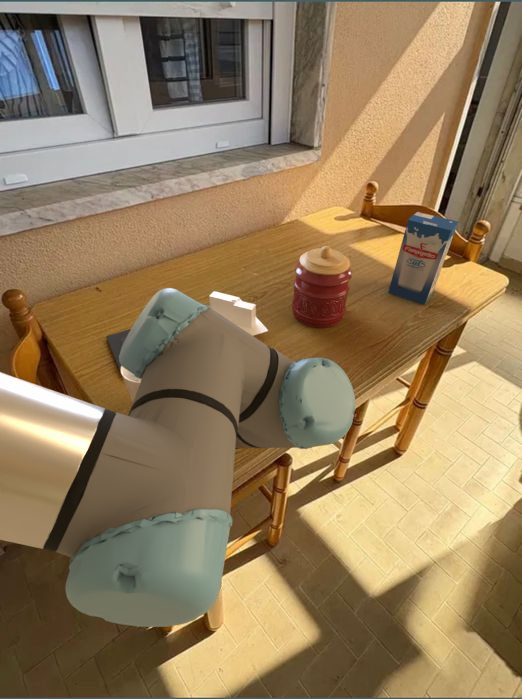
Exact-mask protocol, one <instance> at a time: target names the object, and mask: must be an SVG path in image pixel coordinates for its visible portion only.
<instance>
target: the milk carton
mask: <svg viewBox="0 0 522 699" xmlns="http://www.w3.org/2000/svg"><path fill="white" fill-rule="evenodd" d="M458 225H459V221H458V220H453V219H449V218H445V217H441V216H437V215H433V214H428V213H425V212H420V211H416V212H415V213H414V214H412V215H411V216H410V217H409V218H408V219H407V222H406V226H405V230H404V234H403V237H402V241H401V244H400V248H399V252H398V256H397V258H396V263H395V266H394V270H393V274H392V276H391V280H390V284H389V288H388V292H387V293H388V294H390V295H394V296H397V297H400V298H403V299H405V300H408V301H411V302H414V303H417V304H420V305H423V306H425V305H426V304H427V302H428V301H429V300H430V298H431V297H432V295H433V293H434V291H435V288H436V286H437V283H438V279H439V276H440V274H441V271H442V268H443V266H444V262H445V261H446V257H447V254H448V252H449V249H450V246H451V244H452V241H453V239H454V235H455V232H456V231H457V228H458Z"/></svg>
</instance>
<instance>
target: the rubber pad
mask: <svg viewBox="0 0 522 699" xmlns="http://www.w3.org/2000/svg"><path fill="white" fill-rule="evenodd" d="M130 330H131V328H129V329H126V330H123V331H119V332H116V333H115V332H114V333H112V334H109V335H106V336H105V338H106V340H107V343H108V346H109V349H110V350H111V353H112V356H113V358H114V360H115V363H116V365H117V368H118V370H119V373H120V374H121V364H120V362H119V355H120V351H121V348H122V345H123V343H124V341H125V339H126V337H127V336H128V334H129V332H130Z"/></svg>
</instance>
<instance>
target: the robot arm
mask: <svg viewBox="0 0 522 699" xmlns="http://www.w3.org/2000/svg"><path fill="white" fill-rule="evenodd" d="M130 329H131V330H130V332H129V334H128V336H127V337H126V339H125V341H124V343H123V345H122V348H121V351H120V355H119V362H120V364H121V365H122V366H123V367H124V368H125V369H127V370H128V371H130V372H131V373H132V374H134V375H135V377H137V378H140V379H142V380H141V383H140V385H139V388H138V391H137V393H136V396H135V399H134V401H132V404H131V407H130V409H129V412H128V415H127V414H123V413H121V412H118V411H114V410H111V409H107V408H105V407H102V406H99V405H96V404H94V403H90V402H87V401H84V400H82V399H78V398H75V397H74V396H71V395H67V394H65V393H61V392H59V391H55V390H52V389H50V388H47V387H44V386H42V385H38V384H35V383H32V382H30V381H27V380H24V379H21V378H18V377H15V376H12V375H10V374H7V373H4V372H1V371H0V541H4V542H9V543H14V544H19V545H23V546H27V547H33V548H37V549H40V550H47V551H50V552H55V553H58V554H61V555H63V556H66V557H69V566H68V569H69V570H68V571H69V572H68V575H67V578H66V581H65V594H66V598H67V600H68V602H69V603H70V605H71V606H72V607H73V608H75V609H76V610H77V611H78V612H79V613H82V614H84V615H87V616H90V617H98V618H101V619H103V620H104V621H106V622H108V623H112V624H118V625H122V626H123V625H124V626H132V627H141V628H164V627H165V628H166V627H175V626H181V625H185V624H188V623H190V622H193V621H195V620H197V619H198V618H199V617H202V616H203V615H205V614H207V613H208V612H209V611H210V610H211V609H212V608H213V606H214V604H216V602H217V599H218V596H219V593H220V591H221V586H222V580H223V575H224V574H223V573H224V567H225V562H226V556H227V550H228V543H229V537H230V530H231V527H232V526H233V517H232V515H231V508H232V495H233V494H232V493H233V482H234V470H235V456H236V450H241V449H243V450H244V449H283V448H284V449H294V448H295V449H300V450H308V449H312V448H317V447H322V446H323V447H324V446H329V445H331V444H332V445H333V444H335V443H337V442H339V441H340V440H342V439H344V437H345V436H346V435H347V434H348V432H349V430H350V429H351V427H352V424H353V422H354V420H353V419H354V415H355V413H356V412H355V411H356V396H355V395H356V394H355V391H354V388H353V385H352V383H351V380H350V378H349V376H348V375H347V373H346V372H345V370H343V368H342V367H340V366H339V364H337V363H336V362H335V361H333V360H331V359H329V358H324V357H310V358H308V357H305V358H298V359H297V360H296V361H295V360H293V359H291V358H289V357H287V355H284V354H282V352H280V351H278V350H277V349H275V348H273V347H270V346H269V345H268V344H266V343H265V342H263V341H262V340H260V339H258V338H257V337H255V335H254V336H252V335H250V334H249V333H247V332H246V331H244V330H243V329H241V328H240V327H238V326H237V325H235V324H234V323H232V322H231V321H229V320H228V319H226V318H225V317H223V316H222V315H220V314H219V313H217V312H216V311H214V310H212V309H211V308H210V305H208V304H203V303H201V302H199V301H198V300H196V299H194V298H192V297H191V296H189V295H187V294H185V293H184V292H181V291H180V290H178V289H176V288H173V287H166V288H161V289H160V290H158V291H157V292H156V293H155V294H154V295H153V296H152V297H151V298H150V299H149V301H148V302H147V304H146V305H145V307H144V308H143V309H142V311H140V314H139V315H138V317H137V318H136V320H135V321H134V323H133V325H132V326H131V328H130Z"/></svg>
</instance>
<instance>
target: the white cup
mask: <svg viewBox="0 0 522 699" xmlns="http://www.w3.org/2000/svg"><path fill="white" fill-rule="evenodd" d="M120 375H121V377H122V380H123V382H124V385H125V387H126V390H127V392H128V395H129V397H130V399H131V402H133V401H134V399H135V396H136V393H137V391H138V388H139V385H140V383H141V380H142V379H140V378H137V377H135V375H134V374H132V373H131V372H130V371H128V370H127V369H125V368H124V367H123V366H122V365H121V373H120Z"/></svg>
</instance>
